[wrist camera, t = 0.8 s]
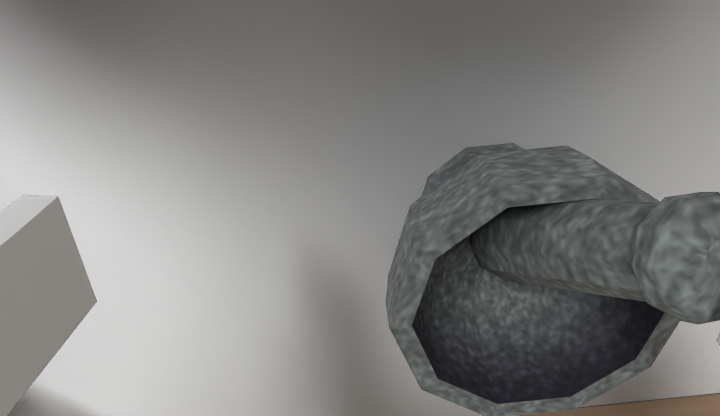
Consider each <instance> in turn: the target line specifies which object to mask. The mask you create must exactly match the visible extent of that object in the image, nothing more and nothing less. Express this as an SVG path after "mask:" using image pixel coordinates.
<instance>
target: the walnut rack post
mask: <svg viewBox="0 0 720 416" xmlns="http://www.w3.org/2000/svg"><path fill="white" fill-rule="evenodd" d="M521 416H720V393H718V394H709V395H699V396H689V397H680V398H670V399H661V400H651V401H641V402H632V403H622V404H612V405H603V406H593V407H584V408H576V409H574V410H565V411H555V412H545V413H535V414H525V415H521Z"/></svg>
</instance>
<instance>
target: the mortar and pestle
mask: <svg viewBox="0 0 720 416" xmlns="http://www.w3.org/2000/svg"><path fill="white" fill-rule="evenodd" d="M386 307H387V314H388V321H389V328H390V330H391V332H392V334H393V335H394V337H395V339H396V341H397V343H398V345H399V347H400V349H401V351H402V353H403V355H404V357H405V359H406V361H407V362H408V364H409V366H410V368H411V370H412V372H413V374H414V376H415V378H416V380H417V382H418V384H419V386H420V388H421V389H422V390H424V391H427V392H429V393H432V394H434V395H436V396H439V397H441V398H444V399H446V400H449V401H451V402H453V403H456V404H458V405H461V406H463V407H465V408H468V409H470V410H473V411H475V412H478V413H480V414H482V415H485V416H515V415H525V414H535V413H545V412H555V411H565V410H574V409H576V408H578V407H580V406H581V405H583V404H585V403H587V402H589V401H590V400H592V399H594V398H596V397H597V396H599V395H601V394H603V393H605V392H606V391H608V390H610V389H612V388H613V387H615V386H617V385H619V384H620V383H622V382H624V381H626V380H628V379H629V378H631V377H633V376H635V375H636V374H638V373H640V372H642V371H643V370H645V369H647V368H649V367H650V366H651V365H652V363H653V362H654V360H655V359H656V357H657V356H658V354H659V353H660V351H661V349H662V348H663V346H664V345H665V343H666V342H667V340H668V339H669V337H670V336H671V334H672V332H673V331H674V329H675V328H676V326H677V325H678V323H679V322H680V321H685V322H689V323H694V324H702V323H707V322H712V321H718V320H720V193H719V192H699V193H692V194H686V195H679V196H672V197H665V198H664V199H663V200H662V201H661V202H660V201H658V200H657V199H655V198H654V197H652V196H650V195H649V194H647V193H646V192H644V191H642V190H641V189H639V188H638V187H636V186H634V185H633V184H631V183H630V182H628V181H626V180H625V179H623V178H622V177H620V176H618V175H617V174H615V173H614V172H612V171H611V170H609V169H607V168H606V167H604V166H603V165H601V164H599V163H598V162H596V161H595V160H593V159H591V158H590V157H588V156H586V155H584V154H582V153H580V152H578V151H576V150H574V149H572V148H571V147H569V146H559V147H548V148H538V149H528V150H524V149H522V148H521V147H519V146H517V145H516V144H514V143H511V144H500V145H490V146H480V147H470V148H465V149H464V150H463V151H461V152H460V153H459V154H457V155H456V156H455V157H453V158H452V159H451V160H450V161H448V162H447V163H446V164H444V165H443V166H442V167H440V168H439V169H438V170H437V171H435V172H434V173H433V174H431V175H430V176H429V177H428V179H427V182H426V185H425V188H424V192H423V195H422V197H421V198H419V199H418V200H417V201H416V202H415V203H414V204H412V205H411V206H410V208H409V211H408V214H407V217H406V221H405V224H404V227H403V230H402V233H401V237H400V240H399V243H398V246H397V249H396V253H395V256H394V259H393V262H392V265H391V269H390V272H389V275H388V285H387V294H386Z"/></svg>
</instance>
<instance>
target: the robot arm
mask: <svg viewBox="0 0 720 416" xmlns="http://www.w3.org/2000/svg"><path fill="white" fill-rule="evenodd" d="M96 302H97V300H96V298H95V295H94V292H93V289H92V287H91V284H90V281H89V279H88V276H87V273H86V270H85V268H84V265H83V262H82V260H81V257H80V254H79V251H78V249H77V246H76V243H75V241H74V238H73V235H72V232H71V230H70V227H69V224H68V222H67V219H66V216H65V213H64V211H63V208H62V205H61V203H60V200H59V197H58V196H39V195H22V196H21V197H19V198H18V199H17V200H16V201H14V202H13V203H12V204H11V205H9V206H8V207H7V208H5V209H4V210H3V211H2V212H0V416H7V415H8V414H9V413H10V411H11V410H12V409H13V408H14V406H15V405H16V404H17V403H18V401H19V400H20V399H21V397H22V396H23V395H24V394H25V392H26V391H27V390H28V389H29V387H30V386H31V385H32V383H33V382H34V381H35V380H36V378H37V377H38V376H39V375H40V373H41V372H42V371H43V369H44V368H45V367H46V366H47V364H48V363H49V362H50V361H51V359H52V358H53V357H54V355H55V354H56V353H57V352H58V350H59V349H60V348H61V347H62V345H63V344H64V343H65V341H66V340H67V339H68V338H69V336H70V335H71V334H72V333H73V331H74V330H75V329H76V327H77V326H78V325H79V324H80V322H81V321H82V320H83V319H84V317H85V316H86V315H87V313H88V312H89V311H90V310H91V308H92V307H93V306H94V304H95V303H96ZM717 342H718V343H719V345H720V333H719V335H718V338H717Z"/></svg>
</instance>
